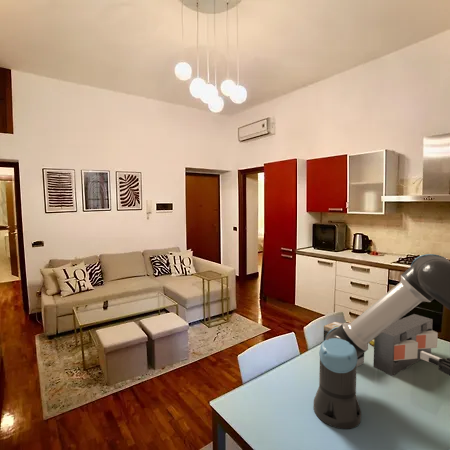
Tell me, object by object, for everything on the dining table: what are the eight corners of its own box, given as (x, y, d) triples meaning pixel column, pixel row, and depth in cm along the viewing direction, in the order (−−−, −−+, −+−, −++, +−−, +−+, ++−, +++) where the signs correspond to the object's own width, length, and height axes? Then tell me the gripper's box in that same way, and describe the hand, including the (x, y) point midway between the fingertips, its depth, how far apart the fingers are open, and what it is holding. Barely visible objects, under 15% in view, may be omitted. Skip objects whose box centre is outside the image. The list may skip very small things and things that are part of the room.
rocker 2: (414, 349, 129) (415, 334, 129) (409, 346, 132) (410, 332, 132) (437, 347, 131) (438, 332, 131) (432, 344, 134) (432, 330, 134)
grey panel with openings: (392, 376, 118) (394, 336, 117) (373, 367, 125) (374, 329, 124) (431, 354, 136) (433, 319, 135) (412, 347, 143) (414, 313, 142)
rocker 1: (392, 361, 120) (393, 345, 120) (388, 357, 123) (388, 341, 122) (417, 358, 122) (418, 342, 122) (412, 355, 125) (413, 339, 124)
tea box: (364, 363, 128) (365, 331, 128) (351, 370, 123) (352, 337, 122) (335, 349, 141) (336, 320, 140) (322, 355, 135) (323, 325, 134)
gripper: (493, 405, 90) (412, 368, 110) (507, 392, 97) (428, 359, 117) (495, 382, 89) (413, 349, 109) (509, 370, 96) (429, 341, 116)
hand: (421, 354), depth 113 cm, fingers closed
